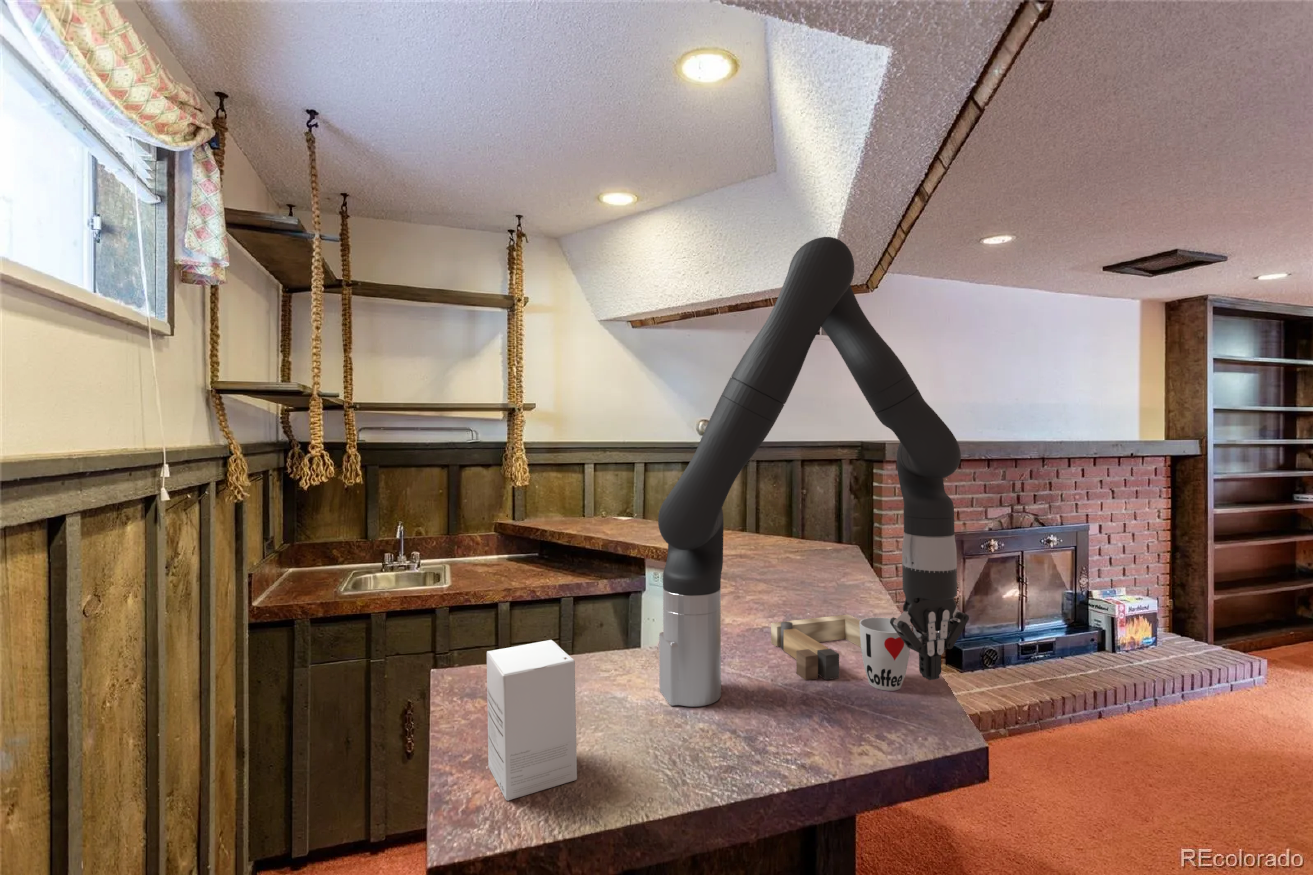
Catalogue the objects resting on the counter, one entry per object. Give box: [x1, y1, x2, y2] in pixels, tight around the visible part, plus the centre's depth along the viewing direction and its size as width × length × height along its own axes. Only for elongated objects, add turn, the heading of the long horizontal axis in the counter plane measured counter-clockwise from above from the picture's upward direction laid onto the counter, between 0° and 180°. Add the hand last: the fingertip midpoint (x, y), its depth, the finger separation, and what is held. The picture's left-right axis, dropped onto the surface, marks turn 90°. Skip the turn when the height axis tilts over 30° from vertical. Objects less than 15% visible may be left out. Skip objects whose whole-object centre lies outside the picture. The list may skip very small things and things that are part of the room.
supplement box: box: [486, 639, 578, 801], centre depth 78 cm, size 9×9×15 cm
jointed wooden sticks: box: [770, 614, 862, 681], centre depth 117 cm, size 21×18×4 cm
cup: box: [859, 616, 911, 692], centre depth 104 cm, size 8×8×10 cm
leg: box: [780, 621, 840, 680], centre depth 114 cm, size 3×16×5 cm, turn 18°
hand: (930, 677), depth 94 cm, fingers closed
